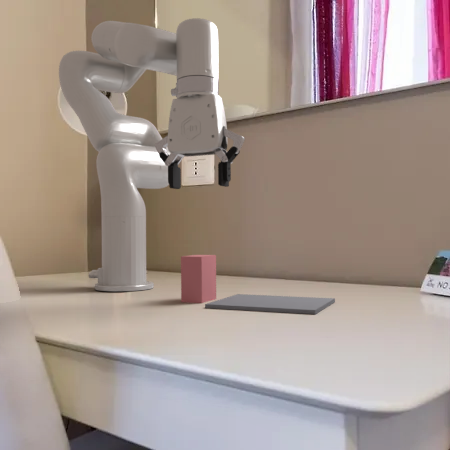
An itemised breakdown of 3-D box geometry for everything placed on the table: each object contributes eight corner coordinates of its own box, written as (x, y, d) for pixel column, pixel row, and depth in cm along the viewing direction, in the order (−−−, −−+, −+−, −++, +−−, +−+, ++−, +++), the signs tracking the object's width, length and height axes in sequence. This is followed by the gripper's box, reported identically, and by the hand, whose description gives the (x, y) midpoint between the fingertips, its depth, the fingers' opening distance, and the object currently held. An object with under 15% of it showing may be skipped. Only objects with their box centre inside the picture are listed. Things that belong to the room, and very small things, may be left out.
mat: (205, 307, 85) (205, 304, 85) (237, 297, 98) (237, 294, 98) (315, 314, 78) (315, 310, 78) (335, 301, 91) (334, 298, 91)
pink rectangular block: (181, 302, 92) (180, 256, 92) (196, 297, 98) (196, 254, 98) (201, 303, 91) (201, 256, 91) (216, 298, 96) (215, 254, 96)
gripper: (145, 92, 95) (146, 188, 94) (234, 80, 88) (235, 183, 87) (166, 101, 101) (167, 190, 101) (250, 91, 95) (251, 186, 94)
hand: (198, 187), depth 94 cm, fingers open, 9 cm apart
